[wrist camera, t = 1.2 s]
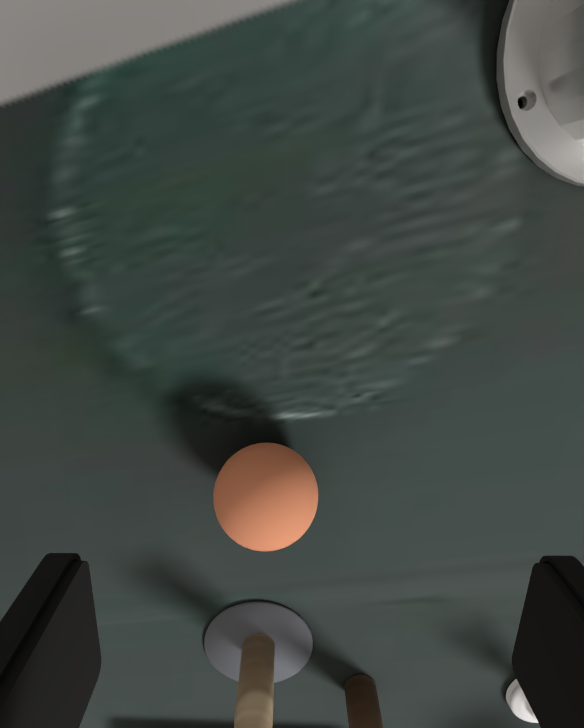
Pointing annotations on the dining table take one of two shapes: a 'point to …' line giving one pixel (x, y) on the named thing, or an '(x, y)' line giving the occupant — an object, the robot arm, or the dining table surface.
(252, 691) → the beech pin
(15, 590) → the dining table surface
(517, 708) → the chess piece
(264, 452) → the ball
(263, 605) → the pin spot
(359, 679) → the walnut pin
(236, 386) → the dining table surface
